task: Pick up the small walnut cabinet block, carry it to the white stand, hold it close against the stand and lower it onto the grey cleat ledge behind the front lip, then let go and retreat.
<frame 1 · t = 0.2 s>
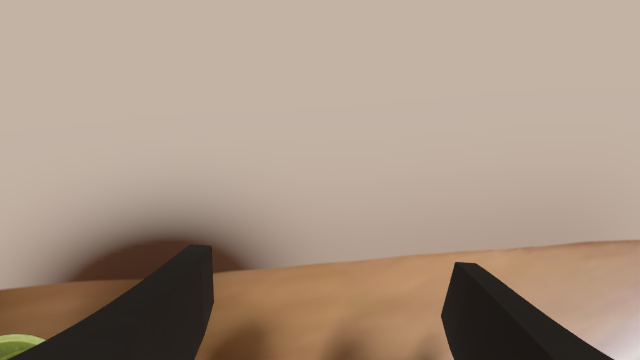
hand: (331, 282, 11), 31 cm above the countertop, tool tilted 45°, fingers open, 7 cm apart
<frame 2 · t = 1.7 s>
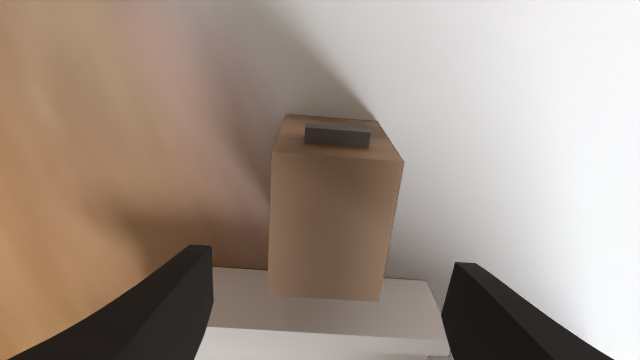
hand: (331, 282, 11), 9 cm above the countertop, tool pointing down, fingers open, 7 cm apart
cabinet block: (326, 174, 19), on the countertop
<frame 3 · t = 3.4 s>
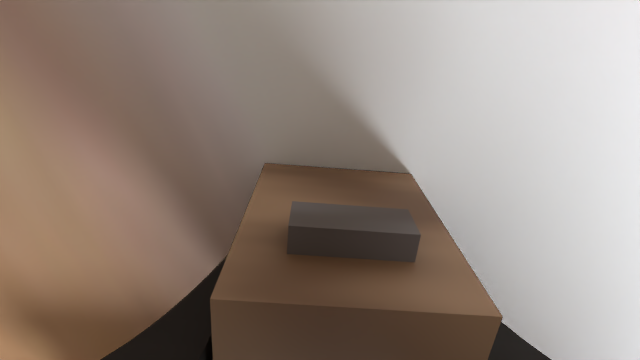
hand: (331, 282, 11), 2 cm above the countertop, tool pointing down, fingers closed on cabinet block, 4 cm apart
cabinet block: (329, 251, 12), on the countertop, touching gripper
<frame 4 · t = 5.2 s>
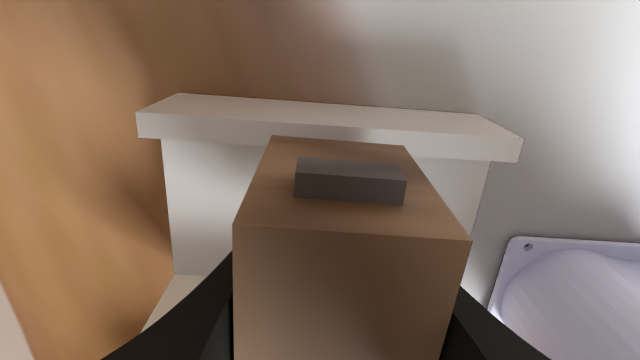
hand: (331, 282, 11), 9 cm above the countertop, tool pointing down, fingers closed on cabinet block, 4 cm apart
cabinet block: (329, 217, 13), point 6 cm above the countertop, touching gripper
white stand: (316, 265, 22), on the countertop
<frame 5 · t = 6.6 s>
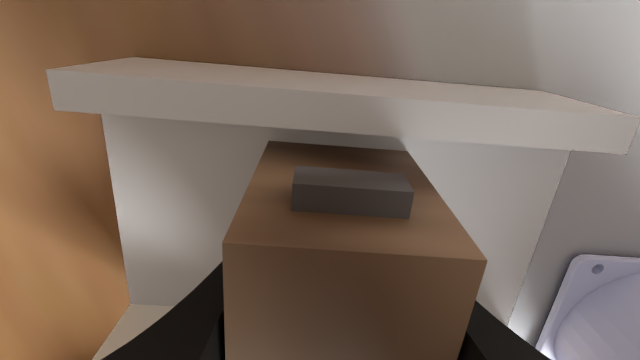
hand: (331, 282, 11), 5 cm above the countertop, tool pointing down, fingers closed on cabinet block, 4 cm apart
cabinet block: (330, 226, 13), point 2 cm above the countertop, touching gripper, white stand
white stand: (320, 288, 17), on the countertop
when the fingers open (5 cm above the countertop, at t = 7.2 s): cabinet block stays where it is, resting on white stand.
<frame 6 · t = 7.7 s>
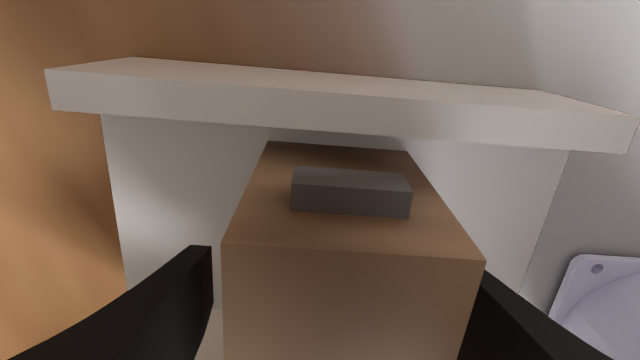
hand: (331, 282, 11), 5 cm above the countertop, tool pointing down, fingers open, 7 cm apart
cabinet block: (329, 226, 13), point 2 cm above the countertop, touching white stand
white stand: (319, 288, 17), on the countertop
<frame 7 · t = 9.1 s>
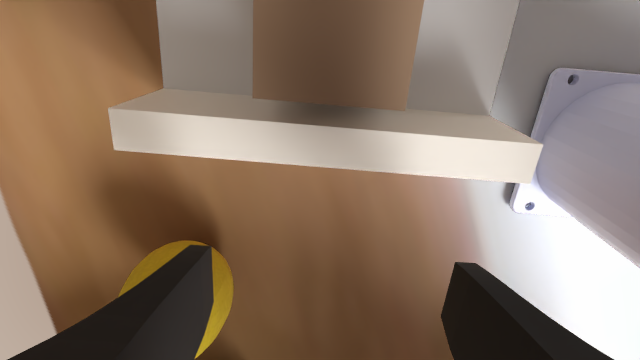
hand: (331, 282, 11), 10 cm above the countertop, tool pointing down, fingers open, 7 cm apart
cabinet block: (335, 4, 15), point 2 cm above the countertop, touching white stand
lemon: (204, 253, 23), on the countertop
white stand: (326, 107, 19), on the countertop
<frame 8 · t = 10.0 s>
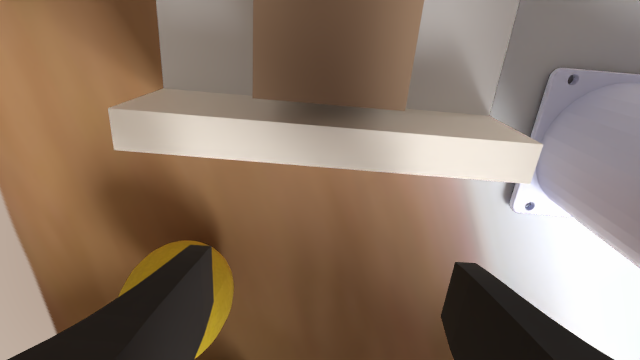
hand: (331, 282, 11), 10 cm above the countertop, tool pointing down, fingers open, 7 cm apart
cabinet block: (335, 4, 15), point 2 cm above the countertop, touching white stand
lemon: (204, 253, 23), on the countertop
white stand: (326, 107, 19), on the countertop
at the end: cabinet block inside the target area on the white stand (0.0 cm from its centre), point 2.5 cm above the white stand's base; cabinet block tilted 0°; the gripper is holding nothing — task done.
